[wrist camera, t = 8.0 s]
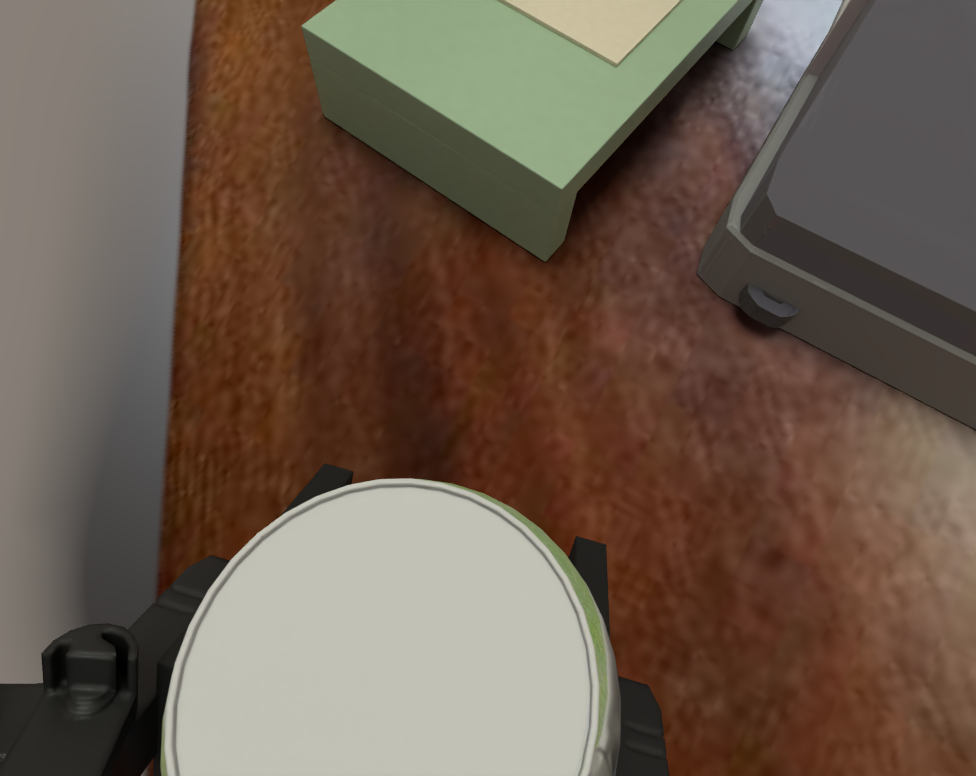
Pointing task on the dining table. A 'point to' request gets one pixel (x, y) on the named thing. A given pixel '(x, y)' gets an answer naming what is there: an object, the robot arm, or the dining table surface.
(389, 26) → the green flat box
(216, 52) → the dining table surface
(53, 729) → the robot arm
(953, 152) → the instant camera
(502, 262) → the dining table surface
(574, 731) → the beverage can
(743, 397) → the dining table surface
